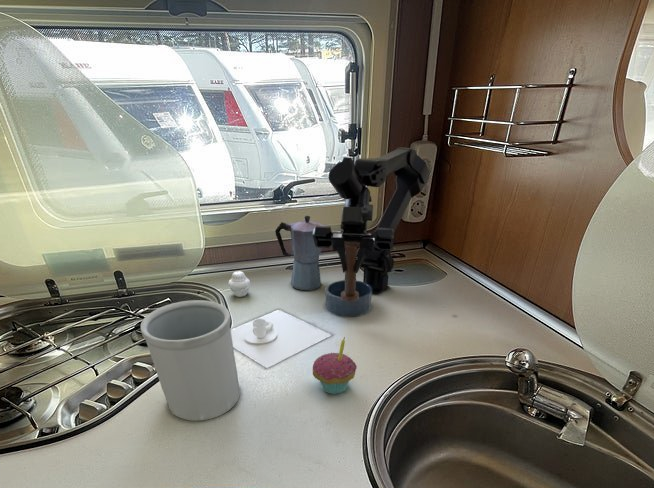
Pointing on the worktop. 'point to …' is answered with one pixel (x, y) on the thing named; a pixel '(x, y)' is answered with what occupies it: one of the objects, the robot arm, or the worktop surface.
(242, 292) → the white lidded jar
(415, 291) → the worktop surface
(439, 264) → the worktop surface
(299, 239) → the moka pot
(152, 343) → the utensil holder
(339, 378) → the cupcake
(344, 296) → the brown flanged peg
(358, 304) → the bowl
